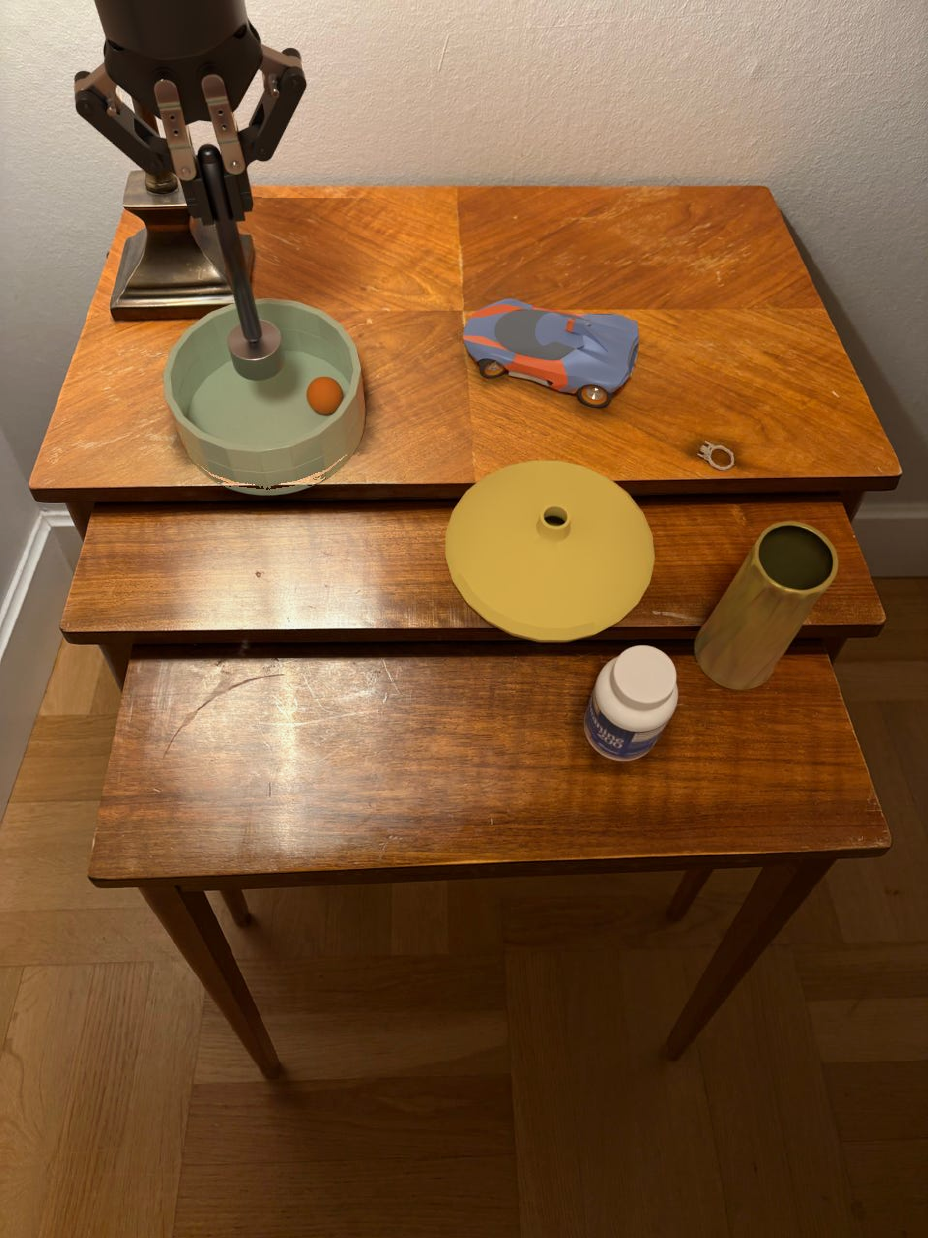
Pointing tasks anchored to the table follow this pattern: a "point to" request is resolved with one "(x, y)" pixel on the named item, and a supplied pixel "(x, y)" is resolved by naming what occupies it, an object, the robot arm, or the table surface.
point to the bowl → (265, 400)
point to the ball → (324, 395)
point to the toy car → (554, 348)
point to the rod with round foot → (240, 282)
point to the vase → (765, 605)
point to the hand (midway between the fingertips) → (223, 214)
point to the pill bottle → (631, 703)
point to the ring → (708, 452)
